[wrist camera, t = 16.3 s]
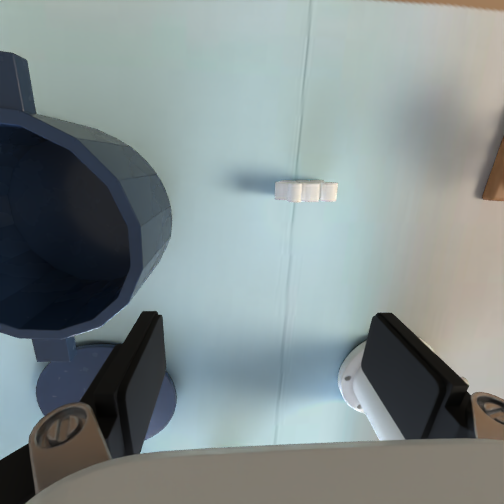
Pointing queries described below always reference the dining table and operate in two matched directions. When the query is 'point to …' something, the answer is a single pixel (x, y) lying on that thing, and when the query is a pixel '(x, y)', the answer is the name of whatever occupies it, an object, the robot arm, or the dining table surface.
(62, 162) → the pot
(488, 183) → the brown upright openwork piece
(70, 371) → the pot lid
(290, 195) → the white marshmallow cluster
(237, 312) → the dining table surface
